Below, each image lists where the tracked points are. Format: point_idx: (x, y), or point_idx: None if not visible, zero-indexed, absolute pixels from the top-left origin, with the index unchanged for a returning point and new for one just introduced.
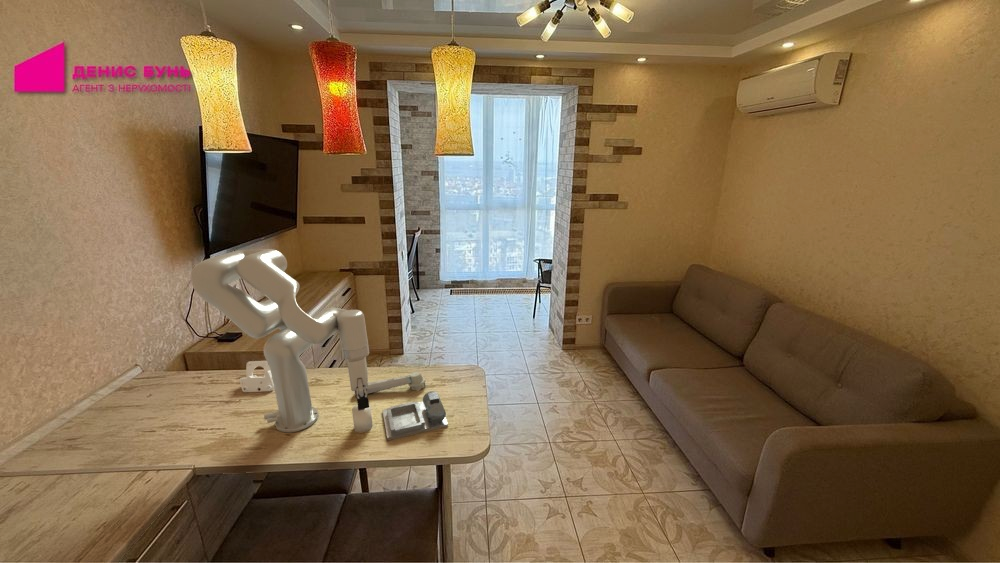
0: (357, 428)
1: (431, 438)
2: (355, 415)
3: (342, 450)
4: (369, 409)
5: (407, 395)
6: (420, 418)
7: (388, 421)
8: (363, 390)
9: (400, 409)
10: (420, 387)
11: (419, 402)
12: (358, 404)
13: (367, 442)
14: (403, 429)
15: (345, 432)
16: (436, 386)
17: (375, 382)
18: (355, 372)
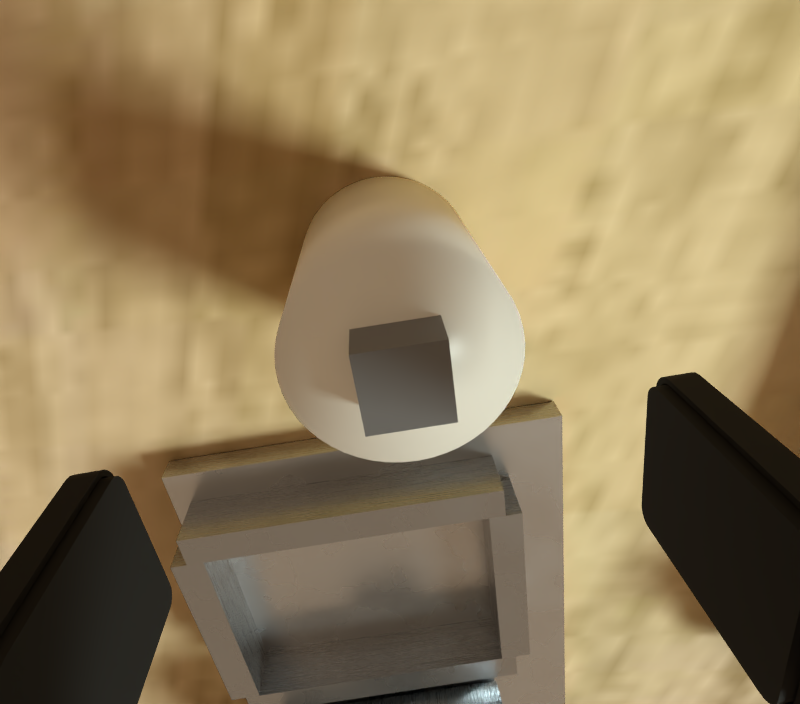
0: (307, 232)
1: (179, 677)
2: (298, 283)
3: (37, 97)
4: (353, 454)
5: None
6: (301, 694)
7: (377, 471)
8: (655, 485)
9: (489, 556)
10: None
11: (558, 635)
12: (25, 561)
13: (155, 319)
14: (192, 606)
15: (329, 88)
16: (722, 688)
17: None
18: None
